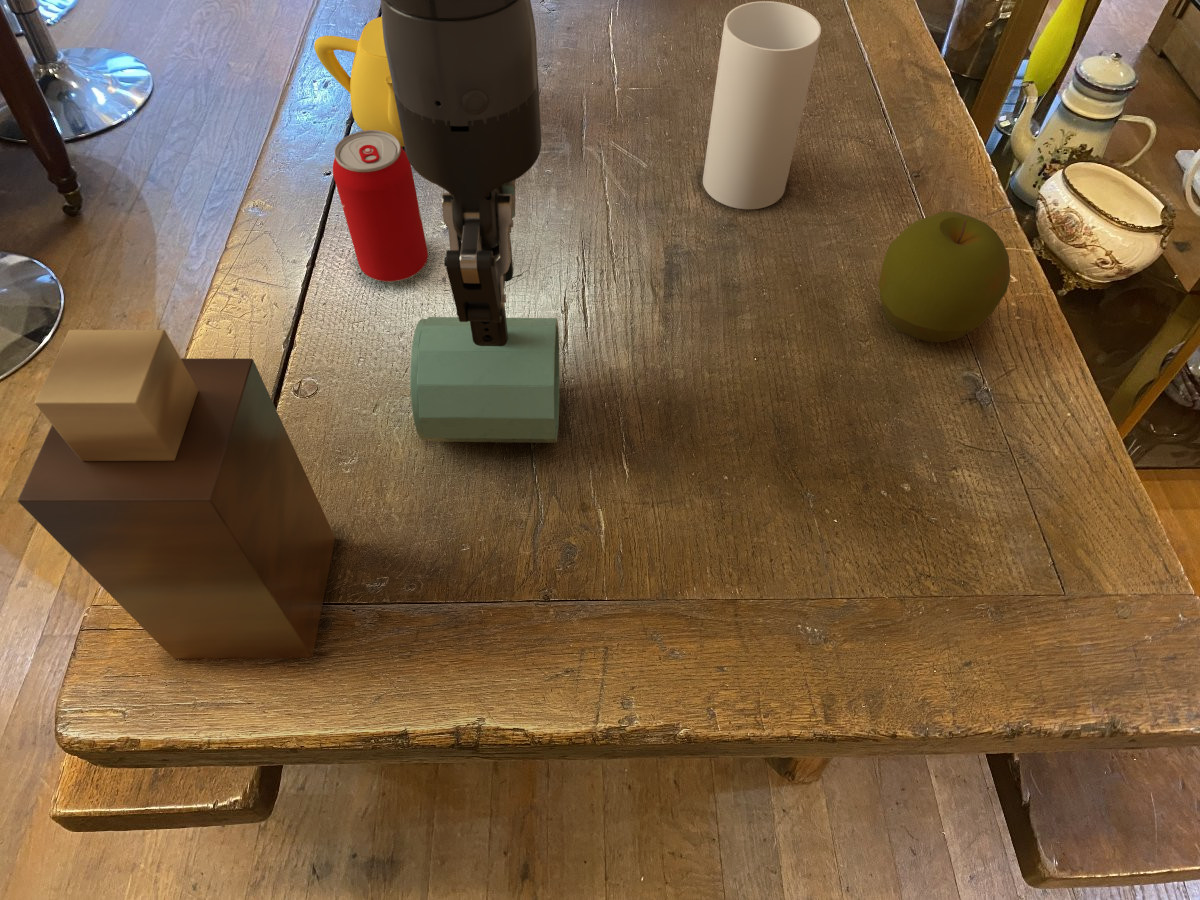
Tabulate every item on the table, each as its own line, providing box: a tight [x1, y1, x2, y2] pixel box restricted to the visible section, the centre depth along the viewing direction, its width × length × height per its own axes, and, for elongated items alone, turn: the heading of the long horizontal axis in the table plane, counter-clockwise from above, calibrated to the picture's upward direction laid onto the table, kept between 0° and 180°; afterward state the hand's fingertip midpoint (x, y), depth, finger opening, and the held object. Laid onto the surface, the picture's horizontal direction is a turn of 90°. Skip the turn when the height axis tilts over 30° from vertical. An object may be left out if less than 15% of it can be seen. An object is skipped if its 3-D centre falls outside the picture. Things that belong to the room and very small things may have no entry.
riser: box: [17, 357, 336, 660], centre depth 50 cm, size 9×9×19 cm
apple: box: [877, 210, 1011, 343], centre depth 70 cm, size 10×10×11 cm
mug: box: [409, 246, 561, 444], centre depth 61 cm, size 15×9×10 cm
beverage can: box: [332, 130, 429, 283], centre depth 73 cm, size 6×6×12 cm
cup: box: [702, 0, 822, 210], centre depth 79 cm, size 8×8×16 cm
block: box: [34, 329, 198, 461], centre depth 41 cm, size 4×4×4 cm
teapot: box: [313, 16, 405, 148], centre depth 85 cm, size 14×14×12 cm
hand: (494, 308), depth 58 cm, fingers closed on mug, 5 cm apart
